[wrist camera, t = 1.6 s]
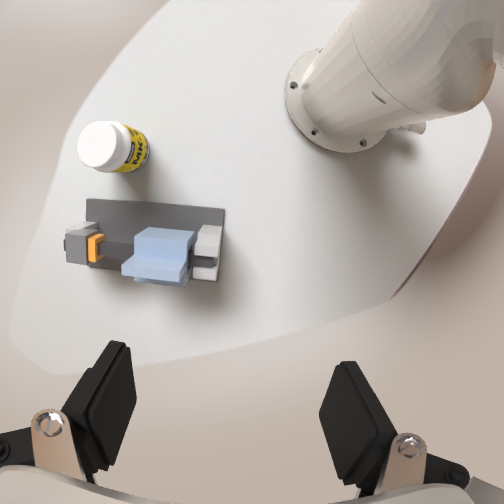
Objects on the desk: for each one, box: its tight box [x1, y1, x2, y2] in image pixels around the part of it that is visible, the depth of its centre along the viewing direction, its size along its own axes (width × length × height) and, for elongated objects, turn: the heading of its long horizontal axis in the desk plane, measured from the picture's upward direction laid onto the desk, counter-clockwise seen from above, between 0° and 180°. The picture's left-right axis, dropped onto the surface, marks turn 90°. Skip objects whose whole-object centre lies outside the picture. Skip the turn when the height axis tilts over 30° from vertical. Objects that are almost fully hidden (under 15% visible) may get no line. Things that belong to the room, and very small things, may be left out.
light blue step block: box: [121, 227, 195, 287], centre depth 24 cm, size 5×4×7 cm
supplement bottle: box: [77, 121, 149, 173], centre depth 24 cm, size 5×5×8 cm
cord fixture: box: [64, 199, 224, 282], centre depth 27 cm, size 16×8×7 cm, turn 83°
